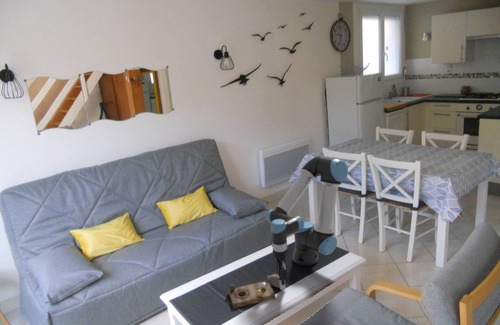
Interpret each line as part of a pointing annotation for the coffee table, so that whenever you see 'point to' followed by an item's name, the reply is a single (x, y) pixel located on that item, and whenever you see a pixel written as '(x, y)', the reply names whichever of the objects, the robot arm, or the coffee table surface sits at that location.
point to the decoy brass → (259, 293)
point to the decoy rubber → (232, 287)
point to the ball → (263, 286)
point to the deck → (250, 294)
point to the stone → (274, 280)
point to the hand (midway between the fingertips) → (282, 288)
